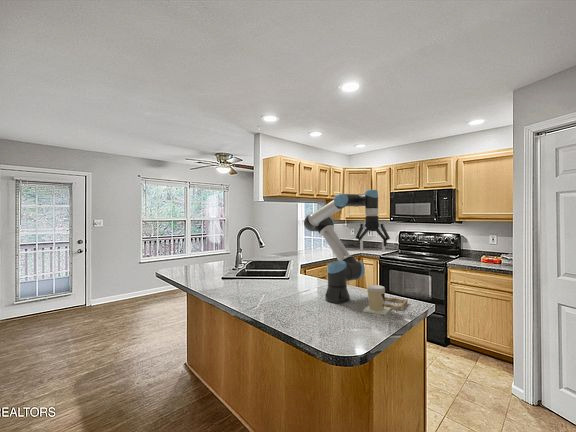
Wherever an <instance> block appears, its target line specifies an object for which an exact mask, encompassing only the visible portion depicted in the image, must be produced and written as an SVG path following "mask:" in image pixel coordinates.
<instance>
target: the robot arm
mask: <svg viewBox="0 0 576 432" xmlns="http://www.w3.org/2000/svg"><path fill="white" fill-rule="evenodd" d="M347 207H353V208H354V207H365V209H364V210H365V217H364V218H365V223H360V226H359V229H358V231H357V233H356V235H355V239H357V240H358V246H359V250H360V251H361V252H362V251H363V250H364V239H363V238H364V237H365V235H366V234H367V233H368V232H376V233H377V234H378V236H379V237H380V238H381V239H382V240H381V247H382V253H384V252H386V247H387V244H388V240H390V239H391V237H390V236H389V233H388V231H387V230H386V228H385V224H384V223H379V222H380V220H379V192H378V190H377V189H367V190H365V191H364V193H359V194H356V193H338V194H336V195H334V197H333V200H331V201H330V202H328V203H327V204H326V205H324V206H322V207H321V208H320V209H318V210H316V211H315V212H310V213H309V214H307V216H305V218H304V220H303V226H304V228H305V229H306V230H307V231H309V232H318V234H319V235H320V236H321V237H323V238H324V239H325V242H326V244H327V245H328V246H329V248H330V249H331V251H332V253H333V254H334V255H335V258H336V259H337V260H334V261H331V262H329V263H328V264H327V270H326V273H327V289H326V292H325V294H324V295H325V300H324V301H326V302H328V303H332V304H333V303H334V304H344V303H348V302H350V301H351V296H350V294H349V290H348V285H347V282H351V281H354V280H355V281H356V280H357V281H358V280H360V279H361V278H363V276H364V275H365V269H366V268H365V265H364V263H363V262H362V261H361V260H357V259H356V257H355V255H351V254H350V253H349V251H348V249H346V247H345V245H344V244H343V242H342V240H341V239H340V237H339V236H338V234H337V233H336V231H335V230H334V229H335V223H334V222H335V221H334V219H333V218H332V216H333V215H335V214H336V213H337V212H339V211H341V210H342V209H345V208H347ZM364 228H365V229H364ZM379 228H380V229H381V230H380V229H379ZM363 229H364V231H363Z"/></svg>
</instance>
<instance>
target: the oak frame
mask: <svg viewBox="0 0 576 432" xmlns="http://www.w3.org/2000/svg"><path fill="white" fill-rule="evenodd" d="M385 301H386V302H391V303H392V302H394V303H399V304H400V303H401V304H400V305H397V304H396V305H395V304H389V303H384V307H390V308H391V310H396V311H397V310H399V311H403V310H404V309H405V307H406V306H407V305H406V304H408V299H403V298H396V297H395V298H394V297H388V296H385V298H384V302H385Z"/></svg>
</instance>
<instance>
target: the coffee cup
mask: <svg viewBox="0 0 576 432" xmlns="http://www.w3.org/2000/svg"><path fill="white" fill-rule="evenodd" d="M366 289H367V298H368V305H369V309H371V310H373V311H382V310H384V304H385V301H384V298H385V297H386V296H385V295H386V288H385V286H382V285H379V284H371V285H367V288H366Z"/></svg>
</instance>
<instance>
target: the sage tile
mask: <svg viewBox="0 0 576 432" xmlns="http://www.w3.org/2000/svg"><path fill="white" fill-rule="evenodd" d="M391 310H392V309H391V308H390V307H384V310H382V311H373V310H371V309H369V304H368V305H367V306H366V307H365V308H364V309H363V310H362V312H363V313H369V314H375V315H380V316H387V314H388V313H389V312H390V311H391Z"/></svg>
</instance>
